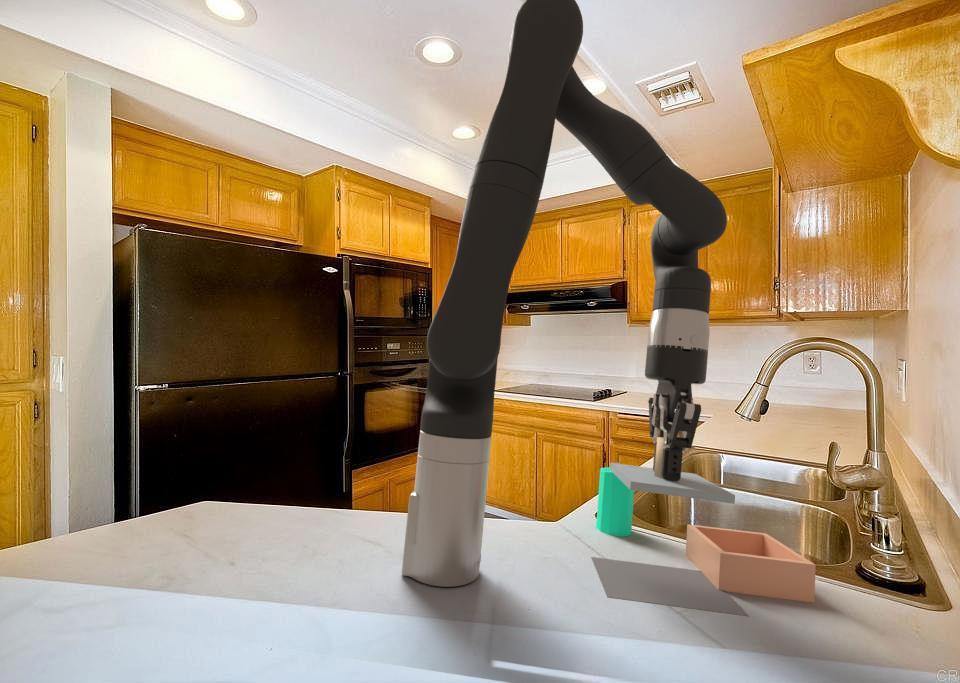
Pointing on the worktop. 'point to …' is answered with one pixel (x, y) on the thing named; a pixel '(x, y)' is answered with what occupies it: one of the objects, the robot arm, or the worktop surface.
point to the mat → (663, 586)
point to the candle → (614, 505)
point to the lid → (669, 481)
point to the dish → (750, 563)
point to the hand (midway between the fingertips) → (666, 475)
